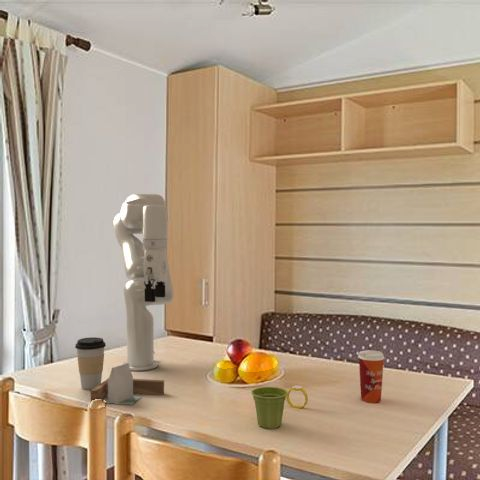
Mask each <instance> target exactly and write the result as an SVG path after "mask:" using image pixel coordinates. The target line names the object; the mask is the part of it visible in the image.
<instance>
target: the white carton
mask: <svg viewBox="0 0 480 480" xmlns="http://www.w3.org/2000/svg"><path fill="white" fill-rule="evenodd" d="M108 378H109V379H108ZM108 378H107V379H108V401H109V402H114V403H119V402H122V401H124V400H127V399H129V398H132V397H133V396H134V393H133V379H134V376H133V374H132V370H130V367H129V363H125V364H123V363H122V364H120V365H117V366H112V367H111V371H110V374H109V377H108Z"/></svg>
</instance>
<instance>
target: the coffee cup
mask: <svg viewBox="0 0 480 480" xmlns="http://www.w3.org/2000/svg"><path fill="white" fill-rule="evenodd" d="M105 347H106V342H105V341H104V339H103V338H102V337H94V336H93V337H91V336H90V337H84V338H80V339H77V342H76V343H75V346H74V348H75V349H76V350H77V351H76V352H77V356H76V357H77V358H76V359H77V365H78V372H79V378H80V385H81V389H83V390H90V389H91V390H92V389H94V388H95V387H97V386H98V385H100V384H101V383H102V378H103V372H104V371H103V370H104V360H105V359H104V358H105ZM91 390H90V391H91Z"/></svg>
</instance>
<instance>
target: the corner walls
mask: <svg viewBox="0 0 480 480" xmlns="http://www.w3.org/2000/svg"><path fill="white" fill-rule="evenodd" d="M108 379H109V377H108V378H107V379H106V380H104V381H103V382H101V384H100V385H98V386H97V387H95V388H94V389H91V390H90V402H91V401H92V400H95V399H103V400H105V401H106V403H107V404H108V403H114V402H109V401H108V396H107V395H108ZM138 393H143V394H144V395H156V394H159V396H163V395H164V394H165V380H164V379H163V380H162V379H147V378H145V379H143V378H133V394H138ZM143 394H142V395H143ZM106 396H107V397H106ZM105 397H106V398H105ZM140 399H142V396H141V395H139V396H137V395H133V397H132V398H129V399H127V400H124V401H122V402H119V403H115V404H114V405H123V404H130V405H129V406H134V403H135V402H136V401H137V402H138V401H139V400H140ZM137 402H136V403H137ZM106 403H105V404H106ZM136 403H135V404H136ZM108 405H109V404H108Z"/></svg>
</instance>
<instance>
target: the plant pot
mask: <svg viewBox="0 0 480 480" xmlns="http://www.w3.org/2000/svg"><path fill="white" fill-rule="evenodd" d="M287 394H288V390H287V389H285V388H282V387H276V386H261V387H260V386H259V387H257V388H253V389H252V390H251V395H252V398H253V400H254V407H255V413H256V421H257V426H259V427H262V428H263V429H267V430H268V429H269V430H270V429H277V428H278V427H281V426H282V422H283V416H284V415H283V414H284V407H285V401H286V400H287V399H286V396H287Z"/></svg>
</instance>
